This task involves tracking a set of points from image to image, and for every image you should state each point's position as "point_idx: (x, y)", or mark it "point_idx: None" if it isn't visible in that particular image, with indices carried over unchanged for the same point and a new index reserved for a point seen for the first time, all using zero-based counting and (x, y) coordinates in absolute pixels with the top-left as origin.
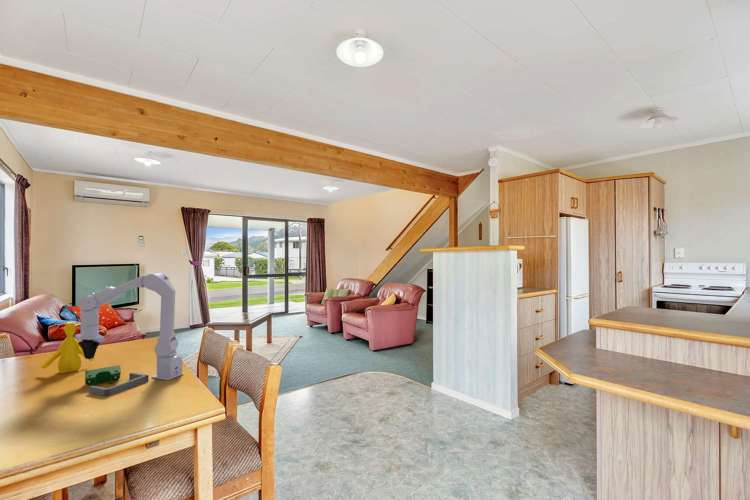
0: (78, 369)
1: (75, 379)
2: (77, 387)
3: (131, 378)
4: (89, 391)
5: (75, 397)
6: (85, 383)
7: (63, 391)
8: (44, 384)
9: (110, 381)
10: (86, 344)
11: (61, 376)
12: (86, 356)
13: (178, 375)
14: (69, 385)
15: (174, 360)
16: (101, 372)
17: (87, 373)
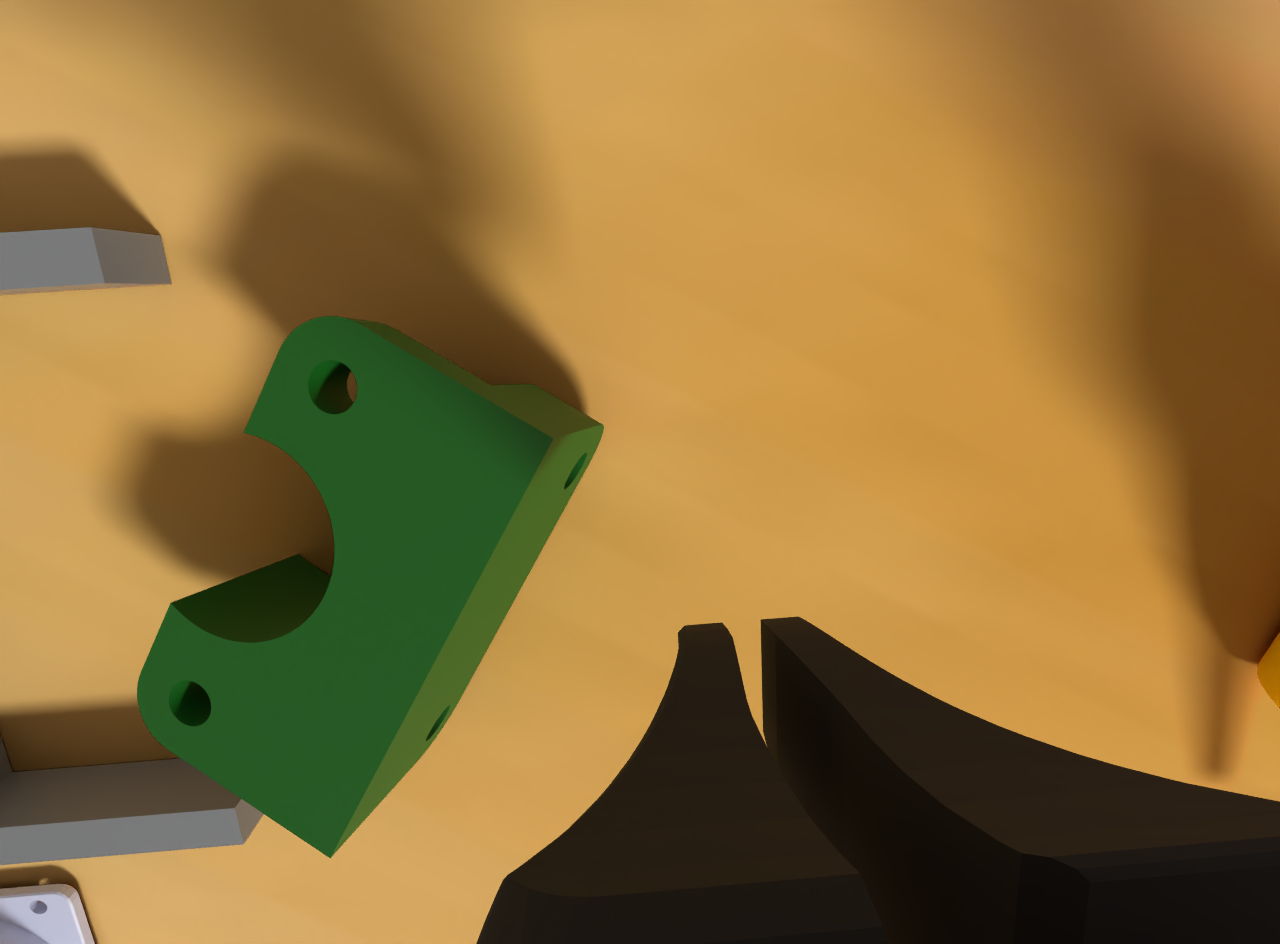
0: (1265, 675)
1: (945, 471)
2: (580, 305)
3: None
4: (136, 234)
5: (157, 59)
6: (532, 386)
7: (590, 129)
8: (1159, 178)
9: (268, 566)
10: (534, 890)
11: (1256, 459)
12: (776, 653)
13: None
14: (772, 304)
15: None
16: (339, 567)
17: (434, 407)
